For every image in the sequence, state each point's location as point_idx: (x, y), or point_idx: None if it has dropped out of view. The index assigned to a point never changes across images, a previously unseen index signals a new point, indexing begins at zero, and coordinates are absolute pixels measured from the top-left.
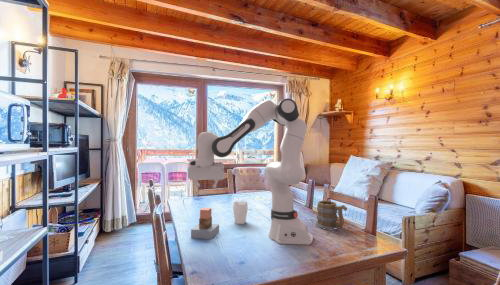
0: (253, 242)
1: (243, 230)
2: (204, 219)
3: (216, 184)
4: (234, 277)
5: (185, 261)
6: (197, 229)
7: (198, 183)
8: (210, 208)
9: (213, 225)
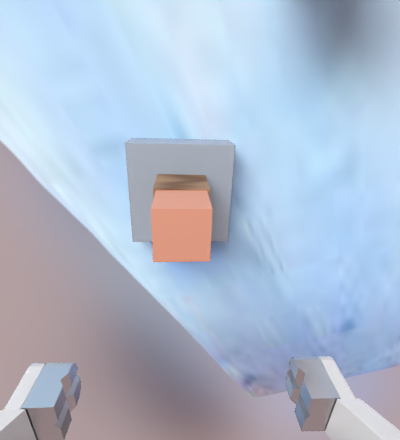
0: (383, 210)
1: (343, 88)
2: None
3: (361, 400)
4: None
5: (210, 355)
6: None
7: (16, 418)
8: (208, 216)
9: (211, 167)
